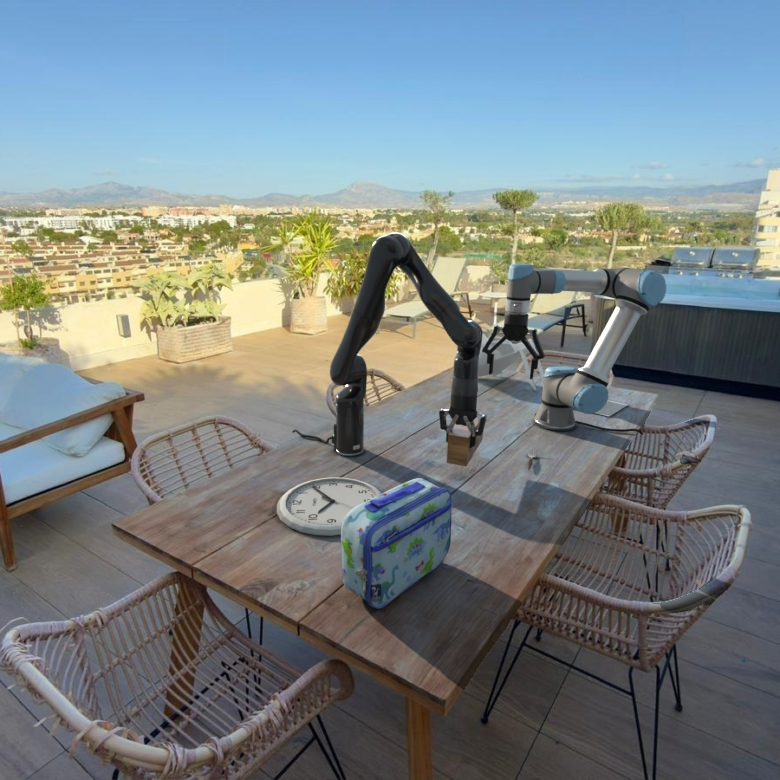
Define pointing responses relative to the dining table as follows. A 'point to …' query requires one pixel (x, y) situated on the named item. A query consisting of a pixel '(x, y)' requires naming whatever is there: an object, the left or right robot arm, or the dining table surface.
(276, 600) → the dining table surface
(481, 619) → the dining table surface
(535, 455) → the fork
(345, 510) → the wall clock
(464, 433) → the box
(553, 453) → the dining table surface
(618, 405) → the invitation card
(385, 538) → the lunch box
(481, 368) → the white plastic object
